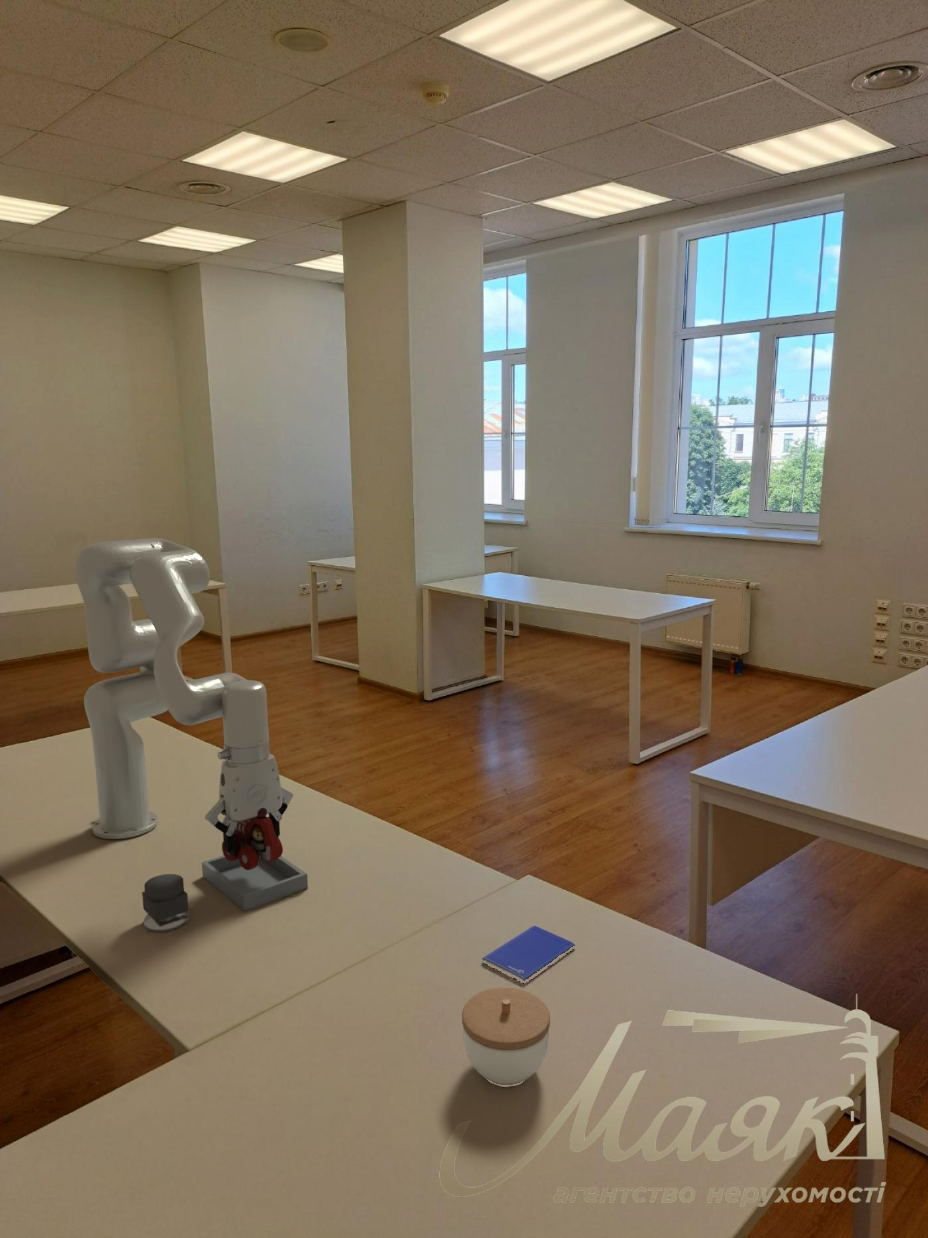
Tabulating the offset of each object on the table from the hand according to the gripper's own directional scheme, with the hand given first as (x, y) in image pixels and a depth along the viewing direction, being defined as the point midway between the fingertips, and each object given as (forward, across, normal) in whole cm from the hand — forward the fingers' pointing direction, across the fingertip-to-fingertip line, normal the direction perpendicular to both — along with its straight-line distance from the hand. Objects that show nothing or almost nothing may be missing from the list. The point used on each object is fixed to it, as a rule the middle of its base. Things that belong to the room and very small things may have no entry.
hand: (252, 846), depth 152 cm
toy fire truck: (+3, 0, 0) cm, 3 cm away
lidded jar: (+8, +1, -64) cm, 65 cm away
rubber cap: (+5, -17, -2) cm, 18 cm away
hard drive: (+8, +21, -49) cm, 53 cm away
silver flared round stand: (+7, -17, -2) cm, 19 cm away
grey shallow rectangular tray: (+7, 0, 0) cm, 7 cm away
